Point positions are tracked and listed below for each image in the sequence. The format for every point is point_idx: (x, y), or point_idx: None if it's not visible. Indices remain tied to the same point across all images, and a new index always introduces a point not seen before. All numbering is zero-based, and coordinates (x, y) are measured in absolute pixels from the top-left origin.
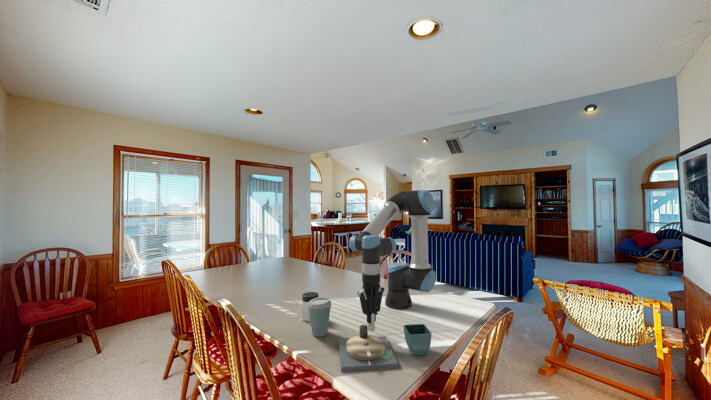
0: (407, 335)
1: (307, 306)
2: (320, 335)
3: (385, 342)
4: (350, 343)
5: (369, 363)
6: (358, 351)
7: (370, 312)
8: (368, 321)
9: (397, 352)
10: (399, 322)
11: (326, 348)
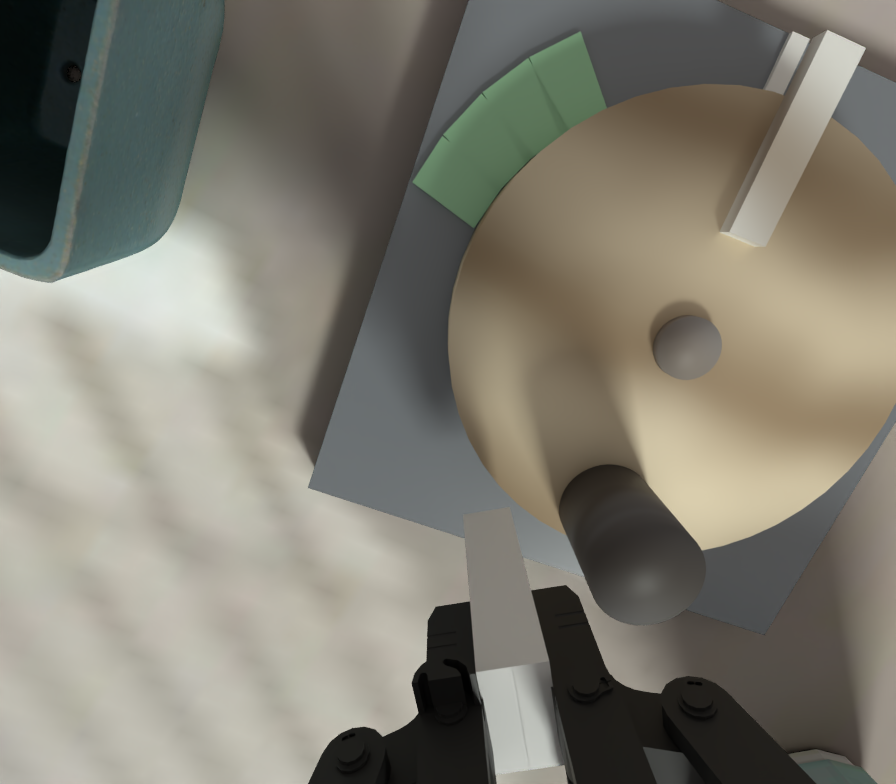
0: (152, 17)
1: None
2: (834, 760)
3: (382, 373)
4: (824, 433)
5: (791, 59)
6: (861, 229)
7: (607, 721)
8: (582, 612)
9: (335, 201)
10: (2, 699)
11: (889, 568)
